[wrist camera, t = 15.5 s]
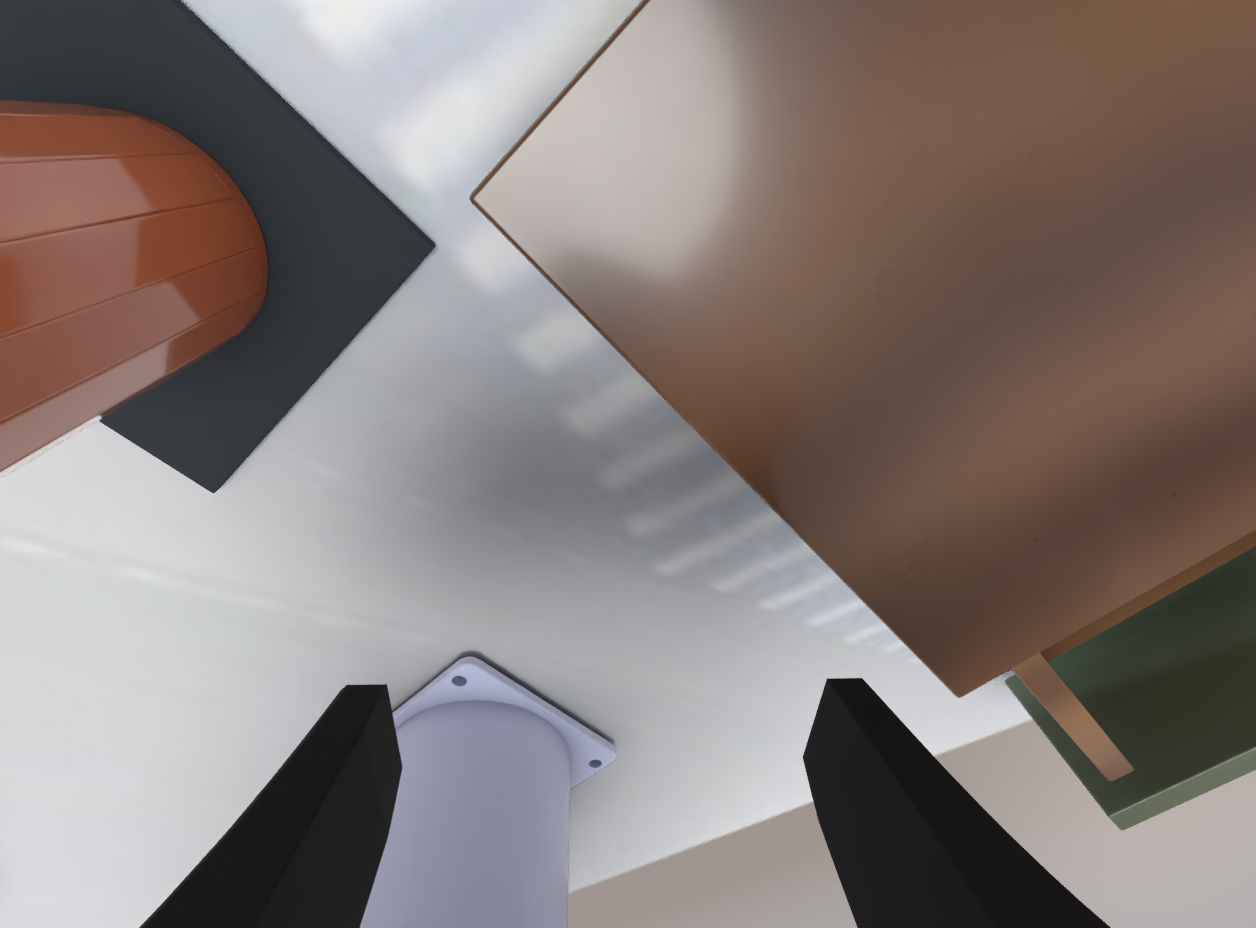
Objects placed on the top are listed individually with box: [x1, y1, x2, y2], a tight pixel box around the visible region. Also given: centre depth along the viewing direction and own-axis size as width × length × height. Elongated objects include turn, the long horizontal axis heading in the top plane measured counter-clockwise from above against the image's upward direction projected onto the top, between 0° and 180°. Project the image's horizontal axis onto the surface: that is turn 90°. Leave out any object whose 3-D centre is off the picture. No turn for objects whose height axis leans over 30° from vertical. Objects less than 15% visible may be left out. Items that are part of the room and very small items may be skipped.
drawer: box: [1005, 530, 1256, 830], centre depth 17 cm, size 15×11×5 cm
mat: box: [0, 0, 435, 493], centre depth 14 cm, size 10×10×1 cm
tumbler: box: [0, 100, 268, 479], centre depth 11 cm, size 5×5×8 cm
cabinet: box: [470, 0, 1256, 698], centre depth 12 cm, size 15×13×7 cm
